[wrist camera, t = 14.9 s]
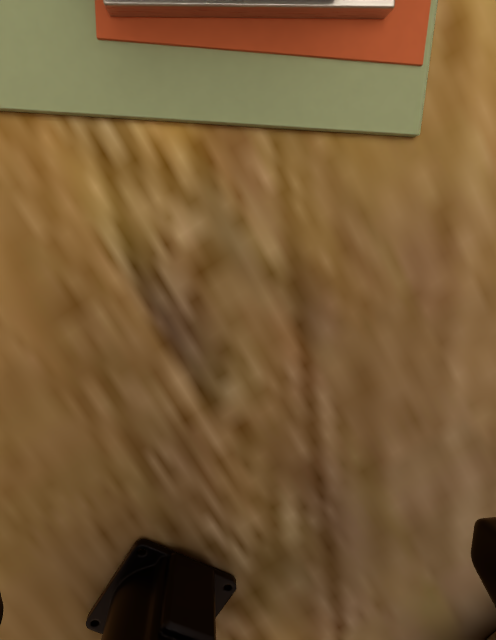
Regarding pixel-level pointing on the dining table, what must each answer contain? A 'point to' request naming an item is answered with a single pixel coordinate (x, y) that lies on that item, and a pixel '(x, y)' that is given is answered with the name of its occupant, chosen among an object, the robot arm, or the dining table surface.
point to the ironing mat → (218, 67)
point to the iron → (252, 8)
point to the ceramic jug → (492, 636)
